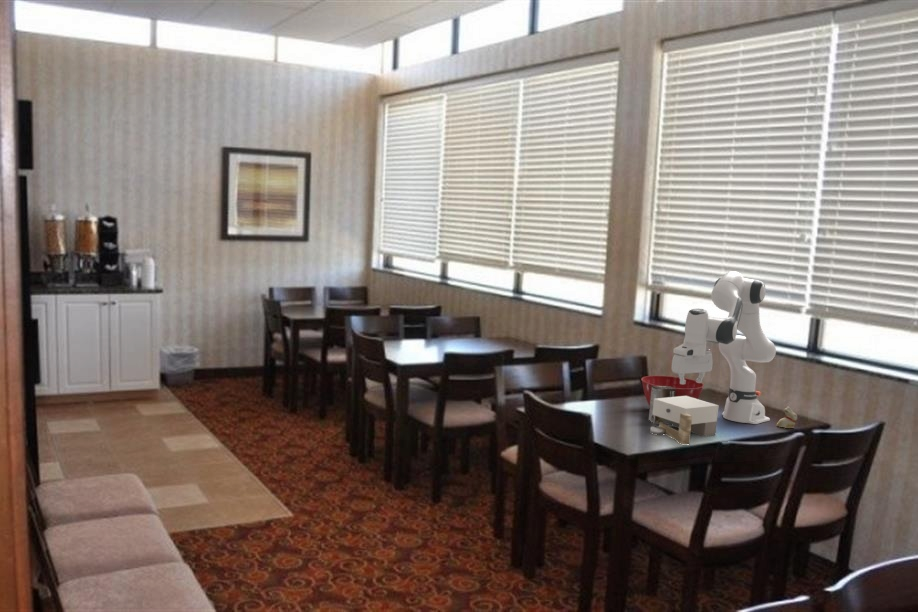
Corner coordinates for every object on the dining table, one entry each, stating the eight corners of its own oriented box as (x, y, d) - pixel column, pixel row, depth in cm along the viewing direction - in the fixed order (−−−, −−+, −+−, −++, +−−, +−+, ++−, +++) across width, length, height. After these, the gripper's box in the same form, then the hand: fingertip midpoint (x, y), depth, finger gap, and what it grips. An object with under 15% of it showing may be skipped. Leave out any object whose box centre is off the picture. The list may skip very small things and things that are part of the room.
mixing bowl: (637, 416, 372) (640, 383, 370) (639, 403, 400) (642, 372, 398) (701, 424, 366) (705, 390, 364) (698, 410, 393) (702, 379, 391)
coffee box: (666, 420, 368) (670, 385, 367) (673, 424, 362) (676, 389, 360) (647, 420, 367) (651, 385, 365) (654, 424, 360) (657, 388, 358)
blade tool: (663, 430, 350) (665, 403, 349) (689, 445, 330) (692, 416, 328) (656, 430, 350) (659, 402, 348) (682, 445, 329) (685, 416, 328)
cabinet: (683, 424, 364) (686, 395, 362) (715, 435, 349) (718, 405, 347) (649, 428, 352) (652, 398, 351) (681, 439, 337) (684, 408, 336)
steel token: (658, 431, 349) (659, 425, 349) (667, 435, 343) (668, 429, 343) (647, 432, 347) (647, 426, 346) (655, 436, 341) (656, 430, 341)
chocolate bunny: (792, 430, 366) (795, 408, 365) (775, 426, 371) (777, 405, 370) (796, 428, 371) (799, 407, 369) (779, 424, 376) (781, 403, 374)
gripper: (705, 347, 335) (702, 380, 337) (670, 349, 324) (667, 383, 326) (718, 350, 330) (714, 383, 331) (682, 352, 319) (679, 386, 320)
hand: (690, 383), depth 328 cm, fingers open, 8 cm apart
